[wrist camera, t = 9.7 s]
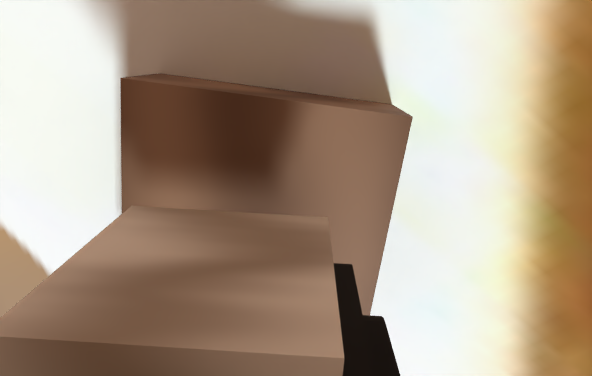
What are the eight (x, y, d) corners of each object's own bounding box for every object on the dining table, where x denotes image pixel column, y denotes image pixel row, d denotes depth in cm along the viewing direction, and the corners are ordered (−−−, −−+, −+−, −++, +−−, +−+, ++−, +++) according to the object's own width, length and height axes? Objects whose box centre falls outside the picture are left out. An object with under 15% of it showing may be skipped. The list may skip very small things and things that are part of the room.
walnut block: (390, 103, 18) (412, 116, 14) (351, 300, 21) (360, 355, 17) (161, 72, 18) (120, 77, 14) (157, 275, 21) (122, 324, 17)
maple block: (328, 217, 10) (344, 358, 5) (315, 375, 12) (318, 592, 7) (131, 205, 10) (-21, 335, 6) (144, 365, 12) (34, 571, 7)
